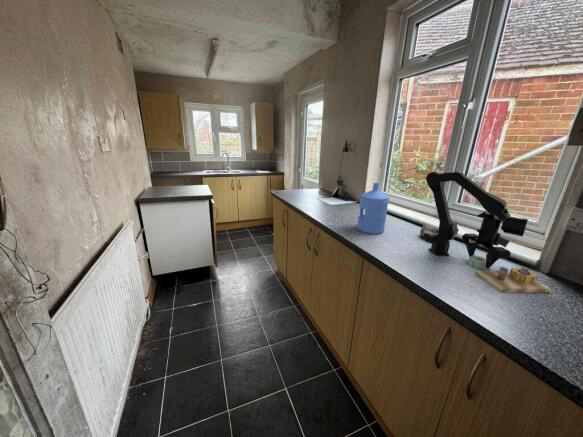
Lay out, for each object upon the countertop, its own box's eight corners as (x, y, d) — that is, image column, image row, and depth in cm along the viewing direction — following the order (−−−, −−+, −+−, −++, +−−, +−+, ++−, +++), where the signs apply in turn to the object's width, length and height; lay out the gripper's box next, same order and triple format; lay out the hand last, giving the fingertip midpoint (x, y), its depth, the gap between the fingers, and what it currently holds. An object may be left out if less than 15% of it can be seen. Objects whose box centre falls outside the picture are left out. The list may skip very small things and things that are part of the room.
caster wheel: (439, 248, 123) (418, 242, 127) (438, 236, 132) (419, 231, 135) (444, 238, 120) (423, 232, 123) (443, 227, 128) (423, 221, 132)
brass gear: (528, 286, 84) (531, 279, 83) (504, 276, 90) (507, 269, 90) (538, 282, 87) (541, 275, 86) (514, 272, 93) (517, 265, 92)
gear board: (500, 292, 83) (505, 277, 81) (474, 273, 95) (478, 260, 93) (549, 292, 84) (555, 277, 82) (517, 274, 95) (522, 260, 93)
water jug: (386, 228, 143) (393, 182, 134) (380, 236, 130) (388, 187, 121) (361, 223, 151) (366, 180, 142) (353, 230, 138) (358, 183, 129)
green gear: (476, 269, 98) (478, 263, 97) (464, 261, 105) (465, 255, 104) (492, 269, 98) (495, 263, 97) (479, 261, 105) (481, 255, 104)
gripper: (530, 238, 87) (517, 274, 92) (489, 221, 105) (480, 253, 110) (501, 238, 87) (489, 274, 92) (465, 221, 105) (456, 252, 110)
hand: (478, 262), depth 101 cm, fingers open, 9 cm apart
